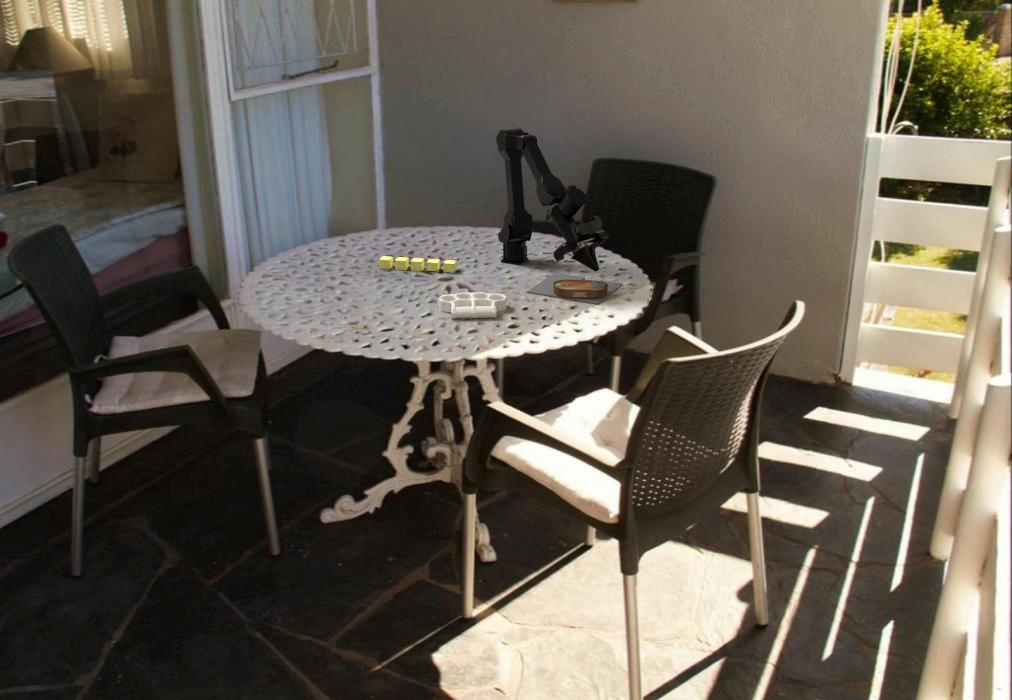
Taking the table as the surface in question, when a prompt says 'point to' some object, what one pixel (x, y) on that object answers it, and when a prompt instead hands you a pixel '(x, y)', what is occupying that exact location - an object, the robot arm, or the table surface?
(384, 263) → the yellow cube row
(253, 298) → the table surface
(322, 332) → the table surface
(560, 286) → the tin
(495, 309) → the white brass knuckles
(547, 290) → the mat
